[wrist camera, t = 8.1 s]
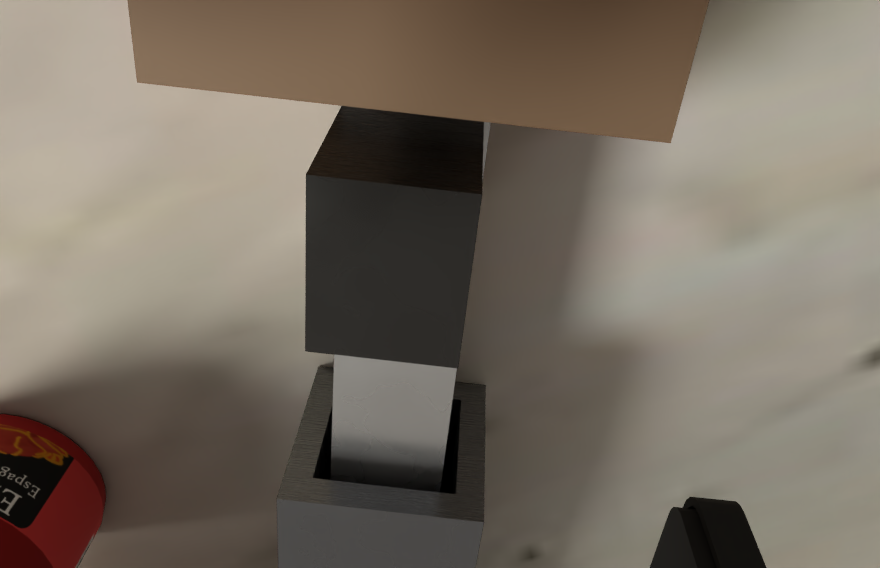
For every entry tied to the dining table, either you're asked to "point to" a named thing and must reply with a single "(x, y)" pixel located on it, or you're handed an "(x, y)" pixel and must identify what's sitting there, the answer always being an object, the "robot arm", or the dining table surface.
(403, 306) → the steel bar
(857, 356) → the dining table surface
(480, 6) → the socket block
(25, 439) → the canned food
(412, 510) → the sleeve
